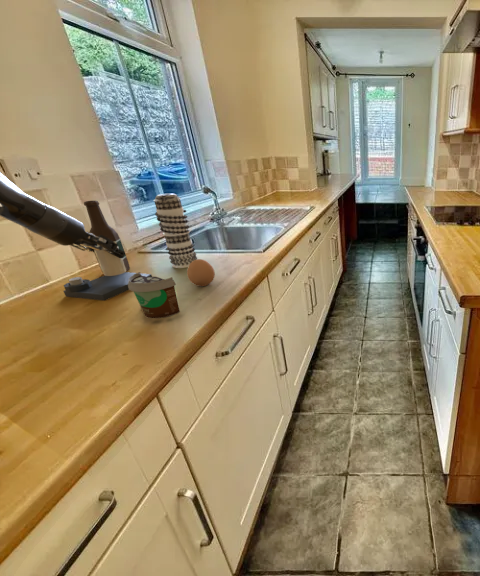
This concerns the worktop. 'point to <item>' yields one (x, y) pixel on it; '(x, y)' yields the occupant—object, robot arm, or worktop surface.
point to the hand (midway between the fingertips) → (114, 254)
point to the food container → (154, 295)
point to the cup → (110, 263)
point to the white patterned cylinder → (175, 230)
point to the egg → (200, 272)
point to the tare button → (76, 281)
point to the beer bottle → (103, 227)
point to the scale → (100, 287)
